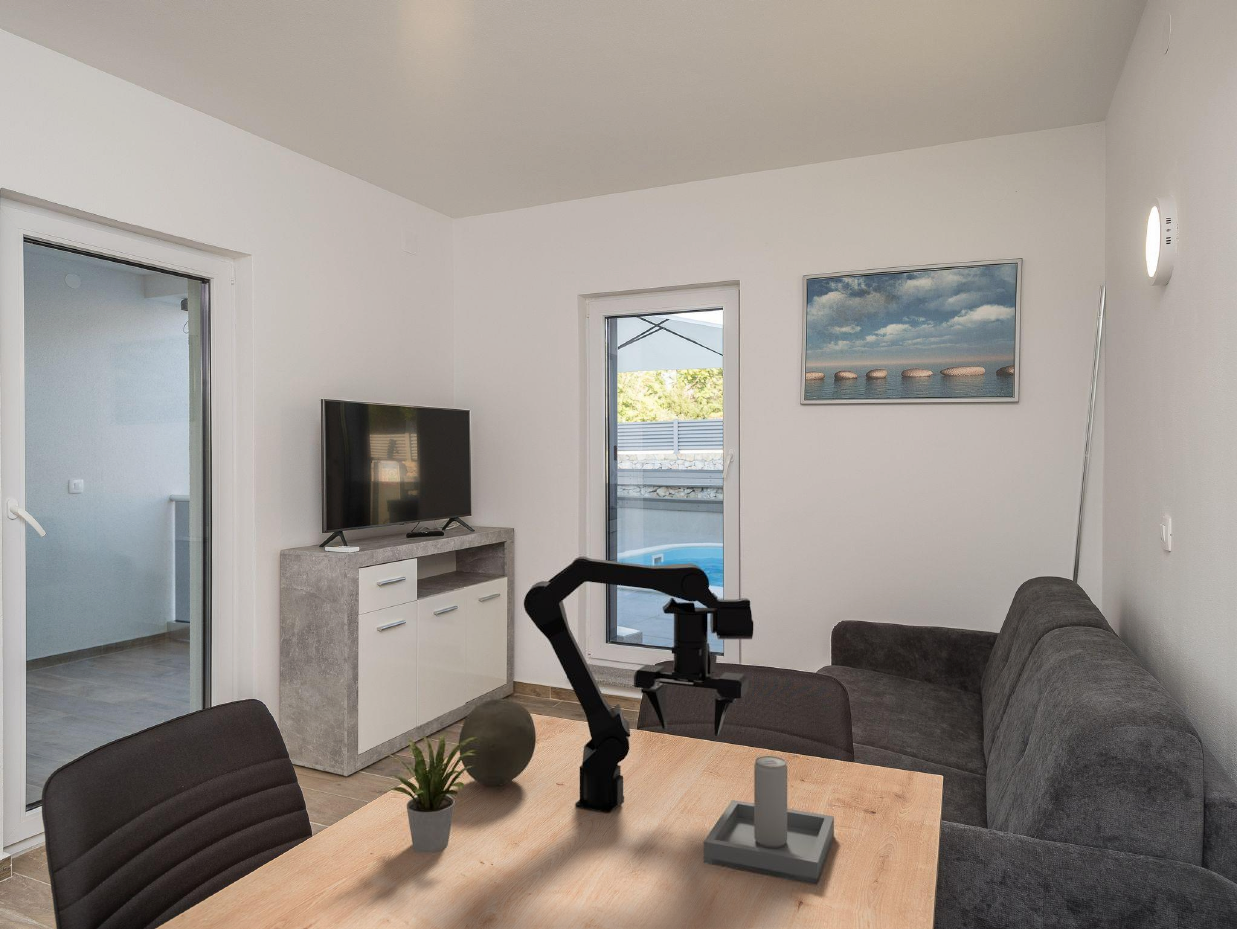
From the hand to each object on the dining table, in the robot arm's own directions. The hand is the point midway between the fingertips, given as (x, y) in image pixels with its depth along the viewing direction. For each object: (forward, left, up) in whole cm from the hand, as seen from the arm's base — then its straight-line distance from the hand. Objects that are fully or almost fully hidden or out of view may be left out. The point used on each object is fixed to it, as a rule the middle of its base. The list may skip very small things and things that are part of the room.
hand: (690, 732), depth 135 cm
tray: (+16, -11, -12) cm, 23 cm away
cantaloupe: (-34, -6, -12) cm, 37 cm away
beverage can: (+16, -11, -11) cm, 22 cm away
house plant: (-30, -29, -12) cm, 43 cm away
